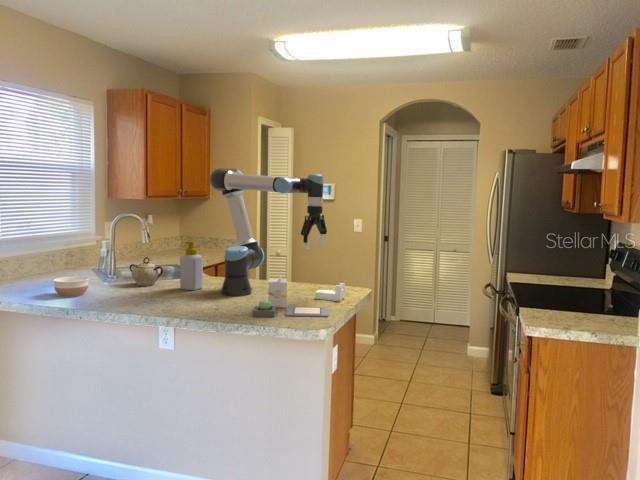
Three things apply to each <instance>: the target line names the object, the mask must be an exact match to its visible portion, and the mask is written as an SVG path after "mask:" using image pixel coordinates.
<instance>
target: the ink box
mask: <svg viewBox="0 0 640 480" xmlns="http://www.w3.org/2000/svg"><path fill="white" fill-rule="evenodd" d="M287 281H288V280H287V278H283V277H282V275H280V276H279V277H278V278H269V279H268V289H267V290H268V291H267V293H268V297H267V298H268V300H267V301H270V302H271V306H276V308H288V295H287V294H288V293H287V292H288V282H287Z"/></svg>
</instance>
